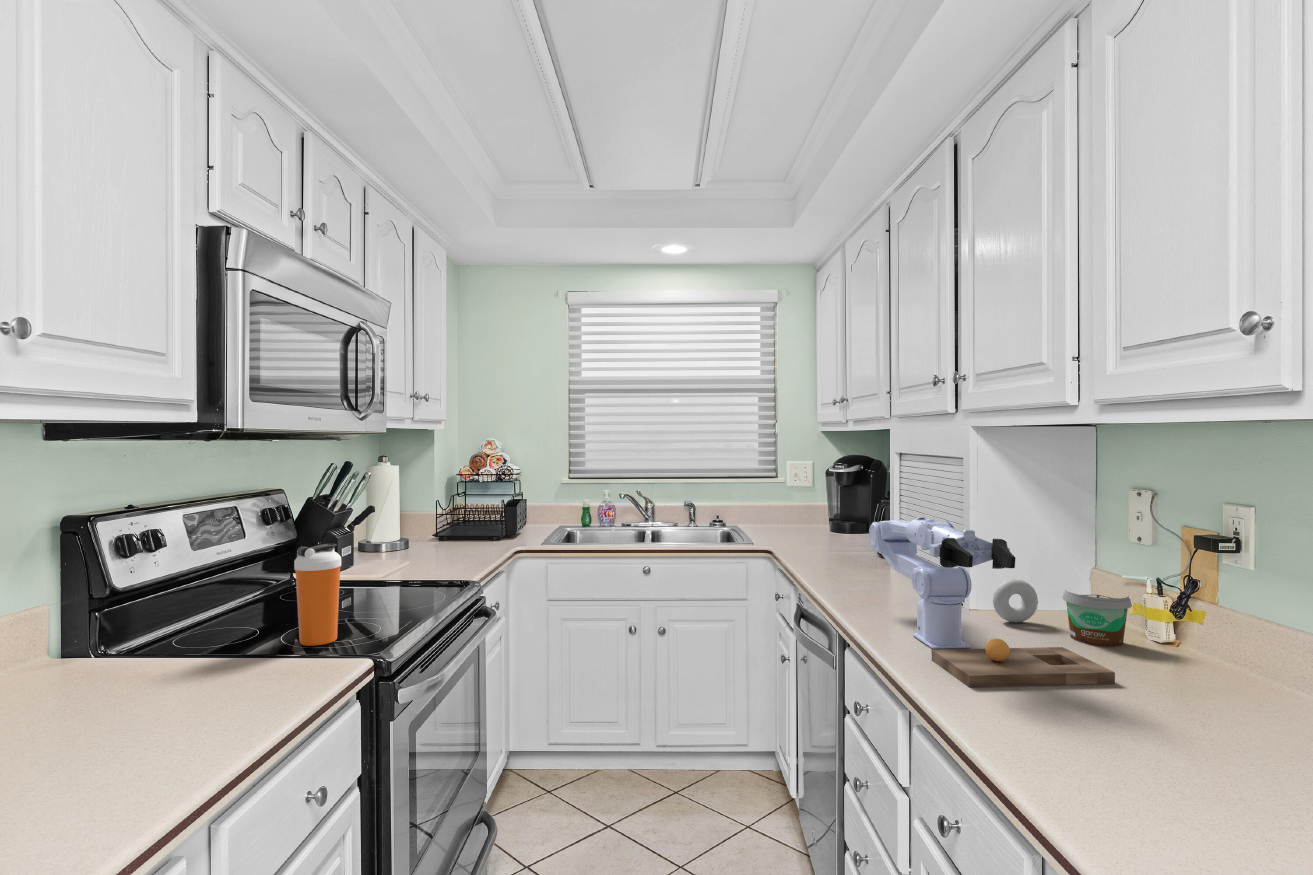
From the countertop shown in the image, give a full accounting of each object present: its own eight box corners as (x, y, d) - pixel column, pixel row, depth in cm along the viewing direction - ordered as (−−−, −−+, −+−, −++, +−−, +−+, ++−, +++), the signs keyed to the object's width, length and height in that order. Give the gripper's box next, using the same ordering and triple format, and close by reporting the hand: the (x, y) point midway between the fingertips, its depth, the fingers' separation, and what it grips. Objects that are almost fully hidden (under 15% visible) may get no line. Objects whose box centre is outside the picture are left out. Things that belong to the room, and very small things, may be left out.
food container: (1063, 643, 141) (1064, 594, 141) (1062, 635, 147) (1062, 588, 147) (1136, 652, 135) (1136, 601, 135) (1131, 643, 141) (1131, 595, 141)
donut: (996, 624, 155) (997, 580, 155) (989, 620, 158) (989, 577, 158) (1041, 624, 155) (1041, 580, 155) (1032, 620, 158) (1033, 577, 158)
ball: (980, 657, 126) (981, 635, 126) (1001, 656, 126) (1001, 635, 126) (992, 664, 122) (992, 642, 122) (1014, 664, 122) (1014, 642, 122)
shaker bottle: (350, 638, 145) (350, 544, 145) (310, 649, 138) (309, 550, 137) (326, 632, 150) (325, 541, 150) (285, 642, 142) (285, 547, 142)
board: (931, 659, 131) (931, 649, 131) (1062, 657, 132) (1062, 646, 132) (969, 687, 117) (969, 675, 117) (1114, 683, 118) (1114, 672, 118)
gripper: (921, 524, 134) (953, 538, 121) (993, 526, 135) (1033, 540, 121) (919, 559, 135) (950, 578, 121) (991, 561, 135) (1030, 579, 122)
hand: (992, 562), depth 121 cm, fingers open, 7 cm apart
